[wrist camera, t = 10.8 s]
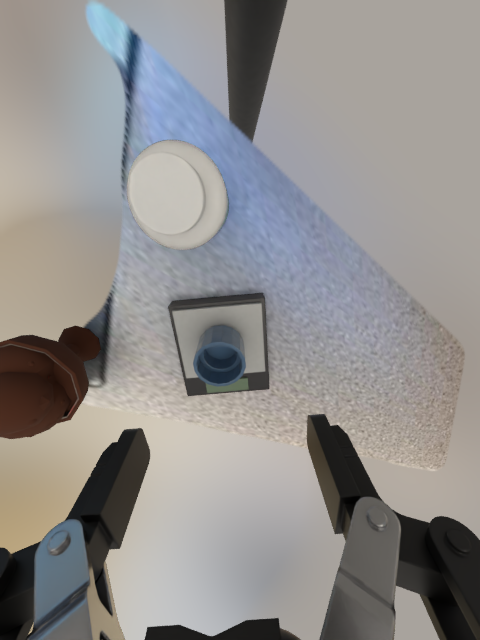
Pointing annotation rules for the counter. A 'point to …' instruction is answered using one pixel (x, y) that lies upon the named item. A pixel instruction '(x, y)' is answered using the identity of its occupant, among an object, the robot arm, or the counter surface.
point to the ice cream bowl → (43, 380)
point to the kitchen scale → (228, 311)
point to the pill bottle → (177, 195)
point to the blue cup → (220, 356)
